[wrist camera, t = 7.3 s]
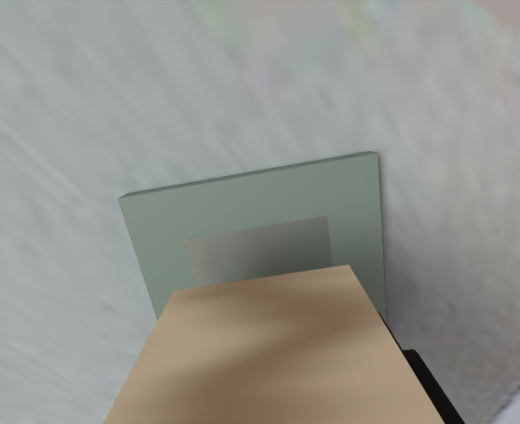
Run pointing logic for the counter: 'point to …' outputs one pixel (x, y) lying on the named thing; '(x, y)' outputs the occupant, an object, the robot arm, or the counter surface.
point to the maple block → (273, 358)
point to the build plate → (261, 227)
